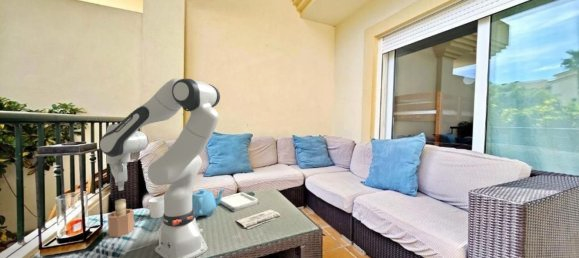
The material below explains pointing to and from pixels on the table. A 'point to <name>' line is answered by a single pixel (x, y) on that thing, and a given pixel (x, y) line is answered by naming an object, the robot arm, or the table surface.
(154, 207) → the white cup
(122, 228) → the pot
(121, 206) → the dowel
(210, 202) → the teapot
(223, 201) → the tray
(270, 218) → the newspaper
